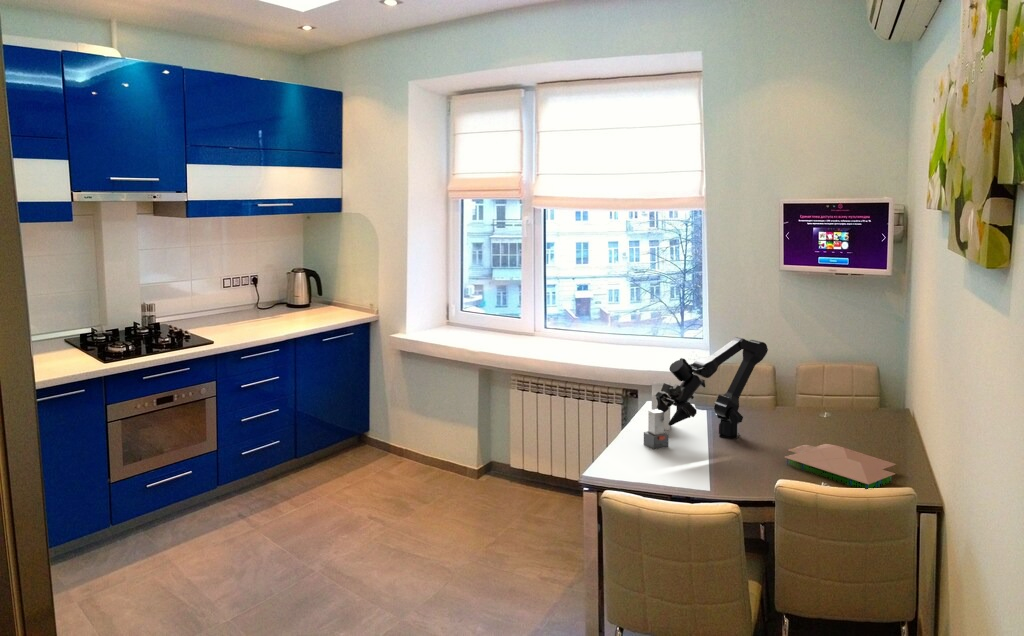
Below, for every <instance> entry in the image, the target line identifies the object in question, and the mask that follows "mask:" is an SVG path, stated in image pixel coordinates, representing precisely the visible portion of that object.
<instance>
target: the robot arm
mask: <svg viewBox="0 0 1024 636" xmlns="http://www.w3.org/2000/svg"><path fill="white" fill-rule="evenodd" d="M740 351H742V360H741V362H740V365H739V367H738V369H737V371H736V373H735V374H734V377H733V378H732V381H731V383H730V385H729V387H728V389H727V391H726V392H725V393H724V394H718V396H717V398H716V400H715V402H714V406H713V410H714V413H715V414H716V416H717V419H720V422H719V423H718V434H719V437H720V438H726V439H736V440H737V439H738V437H739V436H740V432H739V424H740V423H742V422H743V419H744V416H743V415H742V414H741V413H740V412H739V408H740V400H739V399H740V397H741V395H742V393H743V391H744V390H745V389H744V388H745V387H746V385H747V383H748V380H749V379H750V377H751V375H752V373H753V370H754V368H755V366H756V365H758V364H759V363H760V362H761V361H763V359H764V358H765V357H766V356H767V354H768V351H769V349H768V345H767V344H766V342H763V341H759V340H755V339H749V340H747V339H745V338H742V337H738V336H737V337H736V336H735V337H733V338H732V340H731V341H729V342H727V343H726V344H725V345H723V346H722V347H720V348H719V349H718V350H717V351H715V352H713V353H712V354H710V355H707V356H704V357H701V358H698V359H696V360H695V361H694V362H693V363H688V361H687V360H686V359H685V358H682V357H680V358H679V360H676V361H674V362H672V363H671V364H670V366H669V370H668V371H670V373H671V374H672V375H673V376H674V377H675V379H677V381H679V382H681V384H680V385H679V384H674V385H672V384H670V385H668V384H665V383H666V382H665V383H664V382H663V383H664V384H663V386H662V389H661V391H662V392H658V393H657V394H656V395H655V397H656V400H657V402H658V405H657V409H659V410H661V411H663V412H664V413H665V412H666V411H667V410H668V409H669V407H670V408H671V407H672V406H675V407H676V411H675V412H674V413H673V416H672V417H671V418H670V422H669V423H668V424H669V425H670V427H671V426H673V425H675V424H677V423H679V422H681V421H684V420H686V419H690V418H694V417H695V416H696V414H697V409H696V408H695V407H694V406H693V404H692V403H691V402H690V401H689V400H690V399H691V400H693V399H694V398H695V397H694V396H693V395H694V394H695V393H696V391H697V390H698V389H699V387H701V388H706V380H705V379H708V378H711V377H712V376H713V375H714V374H715V373H716V372H717V371H718V368H719V367H720V365H722V364H723V363H725V362H726V361H728V360H729V359H730V358H732V357H733V356H735V355H736V354H738V353H739V352H740ZM701 377H702V378H705V379H702V378H701ZM663 391H664V392H665V393H663ZM666 393H668V395H669V396H668V395H667V394H666Z"/></svg>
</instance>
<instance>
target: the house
mask: <svg viewBox="0 0 1024 636" xmlns="http://www.w3.org/2000/svg"><path fill="white" fill-rule="evenodd" d="M787 451H788V452H791V453H792V454H789V455H786V456H783V457H784V458H785V459H787V464H786V465H787V466H792V465H795V466H797V467H799V469H801V471H805V470H810V471H812V472H813V473H815V474H816V475H817V473H819V474H821V473H822V474H821V475H823V476H824V477H826V476H829V473H830V478H832V477H833V480H834V481H835V479H838V480H839V483H842V482H841V480H842V481H844V482H847V483H846V485H847V486H849V487H851V486H854V485H855V486H854V487H856V485H857V486H860V487H862V485H861V484H864V485H863V488H865V489H867V488H868V489H870V488H871V489H872V488H873V487H874V486H875V487H874V488H877V487H878V488H879V484H881V485H882V484H883V485H884V484H885V483H886V484H887V483H889V481H891V482H892V479H891V477H892V476H894V475H896V473H894V472H892V471H889V470H886V469H888V468H891V467H893V466H895V465H897V464H896V463H894V462H891V461H888V460H884V459H880V458H879V457H875V456H871V455H869V454H865V453H862V452H859V451H855V450H852V449H850V448H849V449H848V448H846V447H842V446H839V445H836V444H829V443H824V444H820V445H817V446H812V445H809V444H803V445H798V446H796V447H794V448H793V447H792V448H790V449H787ZM797 463H798V464H797ZM799 463H800V464H799ZM807 466H808V467H807ZM809 467H810V468H809ZM812 467H813V468H812ZM815 469H817V470H816V471H815ZM823 471H824V473H823ZM825 472H827V473H825ZM813 473H812V474H813ZM832 474H833V475H832ZM835 475H836V476H835ZM824 477H823V478H824ZM859 482H860V483H859ZM856 483H857V484H856Z"/></svg>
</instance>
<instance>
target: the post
mask: <svg viewBox="0 0 1024 636" xmlns="http://www.w3.org/2000/svg"><path fill="white" fill-rule="evenodd" d="M647 420H648V423H647V424H648V426H647V427H648V428H647V431H648V433H649V434H651V435H653V436H658V435H663V434H664V432H665V430H664V412H663V411H661V410H659V409H655V410H652V409H651V410H650V409H649V410H648V419H647Z"/></svg>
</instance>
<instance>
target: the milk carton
mask: <svg viewBox="0 0 1024 636" xmlns="http://www.w3.org/2000/svg"><path fill="white" fill-rule="evenodd" d="M663 384H664V382H651V410H655V409H657V405H658V402H657V400H656V397H655V395H656V394H657V393H658V392H662V391H661V389H662V386H663ZM665 384H668V385H671V383H669V382H665ZM663 393H665V392H664V391H663ZM666 394H667V395H668V393H666ZM668 396H669V395H668ZM670 420H671V406H670V407H669V409H668V410H667V411H666V412H665V413H664V431H665V430H666V431H670V430H671V426H670V425H669V424H668V423H669V422H670Z"/></svg>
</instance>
